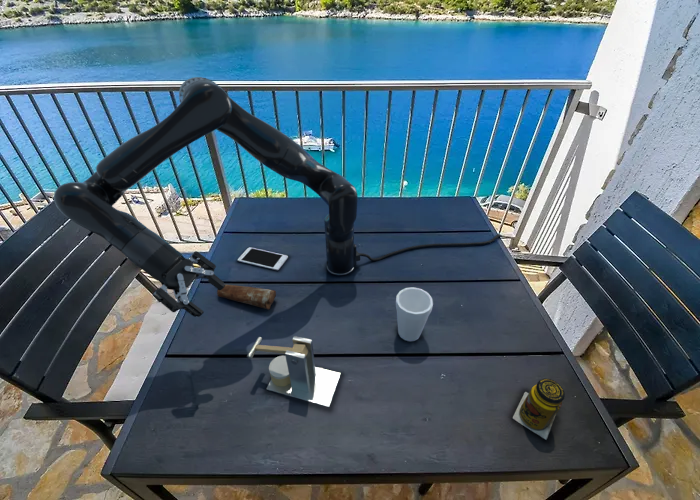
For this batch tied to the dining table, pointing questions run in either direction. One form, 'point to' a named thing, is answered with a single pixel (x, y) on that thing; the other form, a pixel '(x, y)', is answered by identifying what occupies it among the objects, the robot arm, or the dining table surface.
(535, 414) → the condiment
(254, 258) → the cell phone
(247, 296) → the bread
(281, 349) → the wood and metal t-shape
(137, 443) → the dining table surface
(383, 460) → the dining table surface
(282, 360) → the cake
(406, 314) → the foam cup
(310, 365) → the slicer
